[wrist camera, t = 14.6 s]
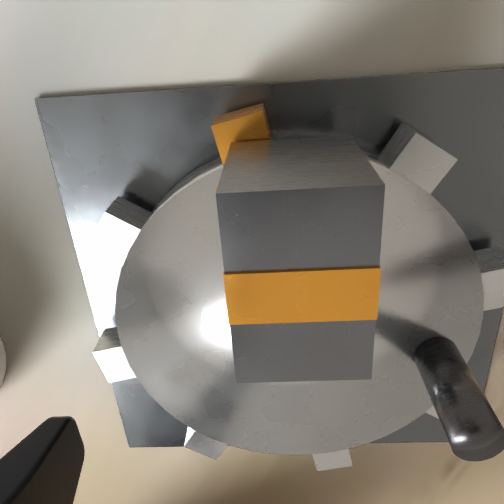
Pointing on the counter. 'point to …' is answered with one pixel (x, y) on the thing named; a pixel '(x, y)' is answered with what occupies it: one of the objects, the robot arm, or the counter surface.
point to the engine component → (2, 361)
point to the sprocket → (304, 392)
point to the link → (301, 258)
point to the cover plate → (281, 127)
